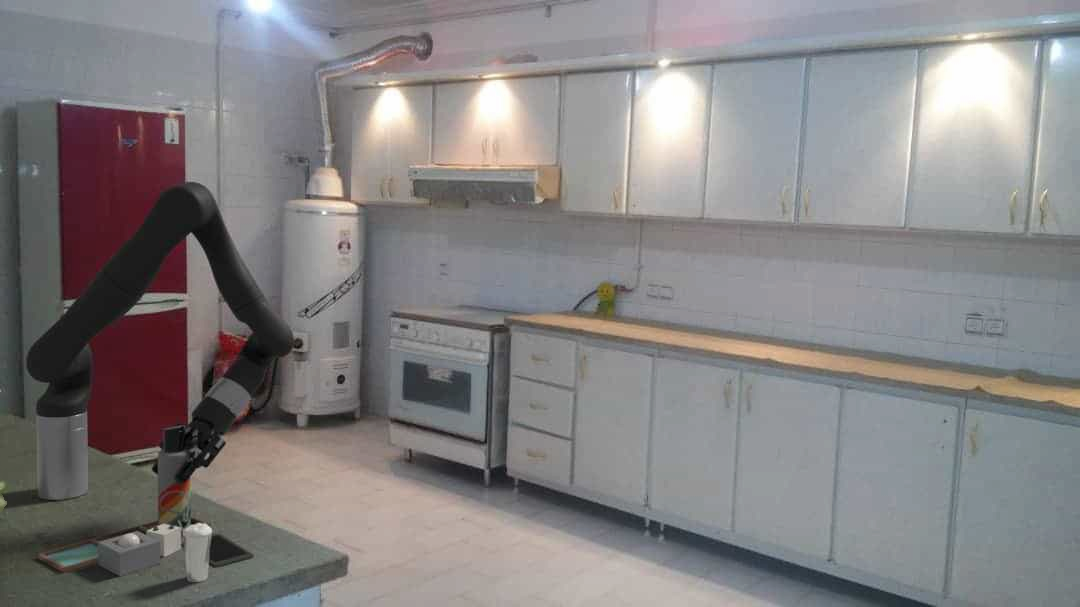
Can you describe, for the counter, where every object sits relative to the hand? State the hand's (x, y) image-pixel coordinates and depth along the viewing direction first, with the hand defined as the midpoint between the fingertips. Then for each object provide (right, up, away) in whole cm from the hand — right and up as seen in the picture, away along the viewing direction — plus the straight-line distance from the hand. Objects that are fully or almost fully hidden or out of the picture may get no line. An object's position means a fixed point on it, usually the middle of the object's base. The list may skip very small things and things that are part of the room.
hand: (166, 477), depth 165 cm
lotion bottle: (0, -10, +2) cm, 11 cm away
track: (-5, -11, -5) cm, 13 cm away
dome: (0, -11, -14) cm, 18 cm away
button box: (0, -12, -14) cm, 19 cm away
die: (+3, -12, -8) cm, 14 cm away
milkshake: (+12, -13, -18) cm, 26 cm away
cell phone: (+12, -12, -7) cm, 18 cm away
